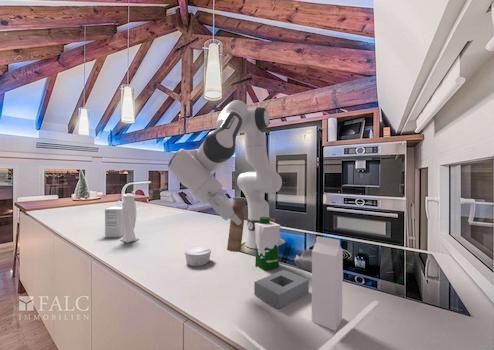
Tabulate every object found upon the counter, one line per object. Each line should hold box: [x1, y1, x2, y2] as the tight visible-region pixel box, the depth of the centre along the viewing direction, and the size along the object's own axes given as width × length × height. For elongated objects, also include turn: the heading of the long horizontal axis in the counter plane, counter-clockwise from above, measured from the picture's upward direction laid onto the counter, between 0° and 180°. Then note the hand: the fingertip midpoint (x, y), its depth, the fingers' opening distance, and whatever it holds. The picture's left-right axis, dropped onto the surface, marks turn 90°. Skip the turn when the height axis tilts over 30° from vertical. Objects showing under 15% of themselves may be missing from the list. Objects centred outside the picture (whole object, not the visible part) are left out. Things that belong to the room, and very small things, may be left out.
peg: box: [226, 196, 247, 253], centre depth 76 cm, size 4×4×17 cm
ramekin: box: [184, 245, 212, 267], centre depth 100 cm, size 11×11×5 cm
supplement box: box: [104, 206, 124, 238], centre depth 142 cm, size 10×9×17 cm
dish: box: [294, 249, 313, 273], centre depth 96 cm, size 14×14×5 cm
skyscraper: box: [119, 190, 140, 244], centre depth 130 cm, size 8×8×28 cm
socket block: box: [253, 269, 310, 310], centre depth 72 cm, size 14×10×5 cm
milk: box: [311, 235, 344, 332], centre depth 60 cm, size 6×6×22 cm
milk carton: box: [254, 217, 281, 272], centre depth 94 cm, size 9×9×20 cm
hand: (239, 221), depth 76 cm, fingers closed on peg, 4 cm apart
